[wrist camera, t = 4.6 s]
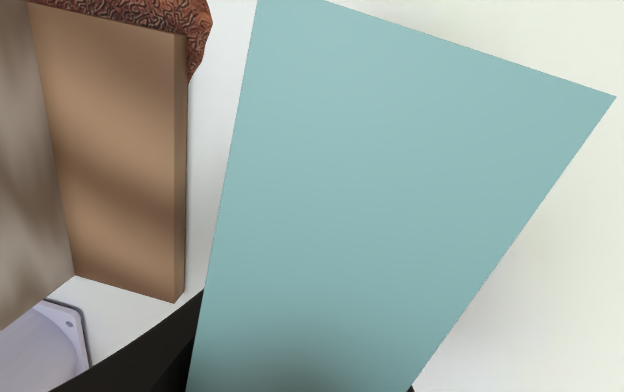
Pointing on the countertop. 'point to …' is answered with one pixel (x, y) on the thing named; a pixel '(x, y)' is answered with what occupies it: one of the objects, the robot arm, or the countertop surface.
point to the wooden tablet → (153, 18)
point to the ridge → (89, 155)
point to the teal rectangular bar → (369, 197)
